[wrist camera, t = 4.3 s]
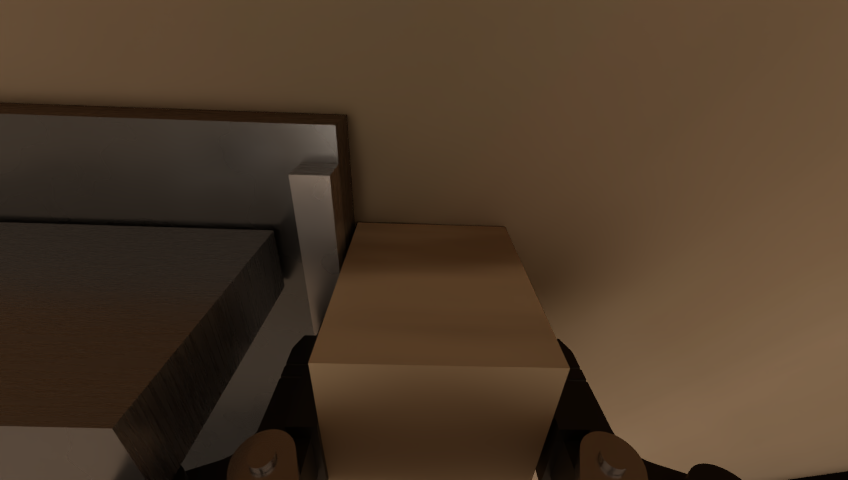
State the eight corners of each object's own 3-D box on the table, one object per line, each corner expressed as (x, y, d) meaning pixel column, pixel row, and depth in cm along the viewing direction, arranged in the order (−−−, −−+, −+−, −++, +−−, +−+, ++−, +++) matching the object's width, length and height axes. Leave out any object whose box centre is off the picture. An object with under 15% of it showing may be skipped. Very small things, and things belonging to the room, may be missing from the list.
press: (-215, 95, 10) (-1052, 161, 4) (347, 114, 10) (248, 202, 5) (87, 477, 20) (-49, 652, 14) (372, 483, 20) (352, 658, 14)
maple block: (358, 222, 12) (308, 362, 7) (504, 226, 12) (570, 368, 7) (364, 332, 14) (332, 499, 9) (486, 335, 14) (524, 501, 9)
